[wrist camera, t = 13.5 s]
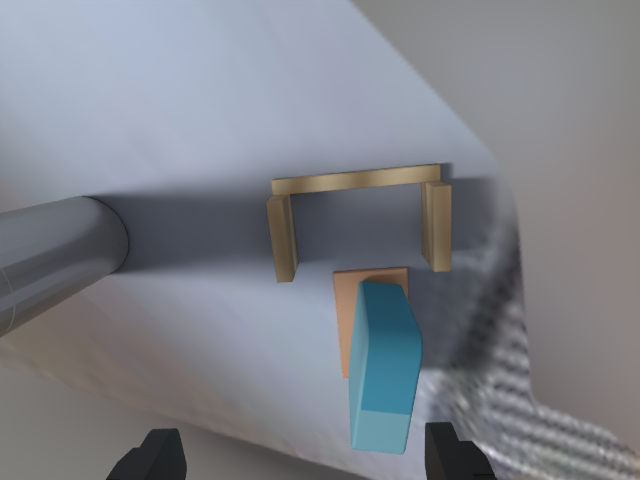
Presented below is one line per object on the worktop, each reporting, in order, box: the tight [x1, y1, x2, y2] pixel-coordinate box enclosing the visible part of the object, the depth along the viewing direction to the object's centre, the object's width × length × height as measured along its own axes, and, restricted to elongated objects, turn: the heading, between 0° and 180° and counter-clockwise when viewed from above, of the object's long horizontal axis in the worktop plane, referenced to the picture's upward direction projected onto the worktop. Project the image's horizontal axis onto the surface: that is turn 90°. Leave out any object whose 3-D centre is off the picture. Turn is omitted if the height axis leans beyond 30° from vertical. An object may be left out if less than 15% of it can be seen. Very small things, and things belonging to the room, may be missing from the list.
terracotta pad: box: [333, 267, 408, 378], centre depth 40 cm, size 8×14×1 cm, turn 6°
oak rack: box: [266, 164, 451, 283], centre depth 34 cm, size 16×10×5 cm, turn 96°
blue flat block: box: [349, 281, 423, 454], centre depth 34 cm, size 12×4×12 cm, turn 176°
